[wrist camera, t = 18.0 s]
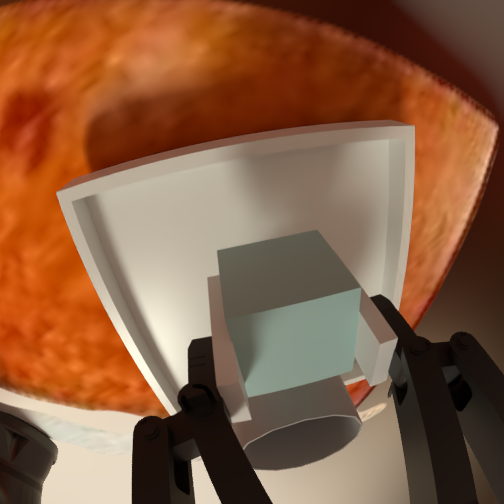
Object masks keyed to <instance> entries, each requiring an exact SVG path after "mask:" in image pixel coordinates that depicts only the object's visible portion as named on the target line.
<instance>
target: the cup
mask: <svg viewBox="0 0 504 504" xmlns="http://www.w3.org/2000/svg"><path fill="white" fill-rule="evenodd" d="M246 393H247V392H246ZM247 398H248V403H249V409H250V414H251V419H252V420H247V421H242V422H236V423H233V422H232V427H233V430H234V432H235V434H236V436H237V438H238V440H239V442H240V444H241V446H242V448H243V450H244V452H245V454H246V456H247V458H248V460H249V462H250V464H251V466H252V467H253V469H254V470H269V471H271V470H272V471H277V470H284V469H291V468H297V467H301V466H304V465H308V464H311V463H314V462H317V461H319V460H322V459H324V458H327V457H328V456H330V455H332V454H334V453H336V452H338V451H340V450H342V449H343V448H345V447H346V446H347V445H348V444H349V443H351V442H352V441H353V440H354V439H355V438H356V437H357V436H358V435H359V432H360V430H361V428H362V425H363V424H362V421H361V419H360V417H359V415H358V413H357V410H356V408H355V406H354V404H353V402H352V400H351V397H350V395H349V393H348V391H347V389H346V386H345V384H344V382H343V380H342V378H341V376H340V375H337V376H333V377H330V378H326V379H323V380H319V381H316V382H312V383H308V384H305V385H301V386H297V387H293V388H289V389H285V390H280V391H276V392H272V393H267V394H262V395H258V396H253V397H248V395H247ZM231 421H232V420H231Z"/></svg>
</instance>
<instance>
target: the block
mask: <svg viewBox="0 0 504 504" xmlns="http://www.w3.org/2000/svg"><path fill="white" fill-rule="evenodd" d="M217 257H218V266H219V275H220V284H221V293H222V301H223V309H224V317H225V322H226V326H227V329H228V332H229V336H230V339H231V342H233V345H234V349H235V352H236V356H237V359H238V363H239V366H240V369H241V373H242V376H243V379H244V383H245V388H246V392H247V395H248V397H253V396H258V395H262V394H267V393H272V392H276V391H280V390H285V389H289V388H293V387H297V386H301V385H305V384H308V383H312V382H316V381H319V380H323V379H326V378H330V377H333V376H337V375H340V374H343V373H346V372H349V371H353V364H354V353H355V345H356V337H357V328H358V318H359V310H360V298H361V286H360V285H359V283H358V282H357V281H356V279H355V278H354V277H353V275H352V274H351V273H350V271H349V270H348V269H347V267H346V266H345V265H344V263H343V262H342V261H341V260H340V258H339V257H338V256H337V254H336V253H335V252H334V250H333V249H332V248H331V247H330V245H329V244H328V243H327V241H326V240H325V239H324V238H323V236H322V235H321V234H320V233H319V231H318V230H313V231H308V232H303V233H298V234H293V235H288V236H283V237H279V238H274V239H269V240H264V241H259V242H254V243H250V244H245V245H240V246H235V247H230V248H226V249H221V250H217Z"/></svg>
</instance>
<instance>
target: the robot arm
mask: <svg viewBox="0 0 504 504" xmlns="http://www.w3.org/2000/svg"><path fill="white" fill-rule="evenodd" d="M334 252H335V251H334ZM335 253H336V252H335ZM337 256H338V255H337ZM338 257H339V256H338ZM339 258H340V257H339ZM340 260H341V259H340ZM341 261H342V260H341ZM342 262H343V261H342ZM344 265H345V264H344ZM345 266H346V265H345ZM347 269H348V268H347ZM348 270H349V269H348ZM350 273H351V272H350ZM351 274H352V273H351ZM353 277H354V276H353ZM354 278H355V277H354ZM207 281H208V295H209V308H210V321H211V333H212V336H209V337H203V338H198V339H192V341H191V343H190V345H189V347H188V384H186V385H184V386H183V387H182V388H181V389H180V391H179V393H178V396H177V401H178V404H179V405H180V407H181V409H182V410H181V411H179V412H178V413H176V414H174V415H172V416H169V417H167V418H165V419H161V418H159V417H157V416H148V417H144V418H143V419H141V420H140V421H138V423H137V424H136V425H135V428H134V432H133V451H132V504H195V497H194V487H193V478H192V467H191V460H192V459H194V458H196V457H199V456H201V457H202V460H203V462H204V465H205V467H206V470H207V472H208V474H209V477H210V479H211V481H212V484H213V486H214V488H215V490H216V493H217V495H218V497H219V499H220V501H221V503H222V504H273V503H272V502H271V500H270V498H269V496H268V495H267V493H266V491H265V489H264V488H263V486H262V484H261V482H260V480H259V479H258V477H257V475H256V473H255V471H254V469H253V467H252V466H251V464H250V462H249V460H248V458H247V456H246V454H245V452H244V450H243V448H242V446H241V444H240V442H239V440H238V438H237V436H236V434H235V432H234V430H233V428H232V422H233V423H236V422H242V421H247V420H252V419H251V414H250V409H249V403H248V398H247V393H246V388H245V383H244V379H243V376H242V373H241V369H240V366H239V363H238V359H237V356H236V352H235V349H234V345H233V342H231V339H230V336H229V332H228V329H227V326H226V322H225V317H224V309H223V301H222V293H221V284H220V275H216V276H211V277H207ZM356 281H357V280H356ZM357 282H358V281H357ZM359 285H360V284H359ZM360 286H361V285H360ZM354 356H355V358H356V360H357V362H358V364H359V366H360V368H361V370H362V372H363V374H364V376H365V377H366V379H367V381H368V383H369V385H370V387H371V386H374V385H376V384H379V383H382V382H384V381H386V379H387V376H388V373H389V375H390V376H391V378H392V383H391V386H390V389H389V392H388V398H389V397H391V394H393V399H394V403H395V408H396V413H397V418H398V423H399V428H400V434H401V440H402V445H403V451H404V457H405V464H406V471H407V478H408V486H409V494H410V504H479V503H478V500H477V496H476V489H475V484H474V480H473V474H472V470H471V465H470V461H469V456H468V452H467V448H466V444H465V440H464V437H463V434H464V436H465V438H466V440H467V442H468V444H469V445H470V447H471V449H472V451H473V453H474V455H475V457H476V458H477V460H478V462H479V464H480V466H481V468H482V470H483V472H484V474H485V476H486V478H487V480H488V482H489V484H490V486H491V488H492V490H493V492H494V494H495V496H496V499H497V501H498V503H499V504H504V375H503V373H502V372H501V371H500V369H499V368H498V367H497V365H496V364H495V363H494V361H493V360H492V359H491V358H490V356H489V355H488V354H487V352H486V351H485V350H484V349H483V347H482V346H481V345H480V344H479V342H478V341H477V340H476V339H475V338H474V337H473V336H472V335H471V334H469V333H467V332H457V333H455V334H453V335H452V337H451V339H450V341H449V342H439V343H431V342H430V341H429V340H427V339H426V338H424V337H420V336H417V335H416V334H415V333H414V331H413V330H412V328H411V327H410V326H409V324H408V323H407V322H406V320H405V319H404V318H403V317H402V315H401V314H400V313H399V311H398V310H397V309H396V308H395V306H394V305H393V304H392V302H391V301H390V300H389V299H388V298H386V297H384V296H383V295H381V294H379V295H375V296H372V297H369V296H368V295H367V293H366V292H365V291H364V289H363V288H362V287H361V298H360V310H359V318H358V328H357V337H356V345H355V353H354ZM231 420H232V422H231ZM57 454H58V448H57V446H56V445H55V444H54V443H53V442H52V441H51V440H50V439H49V438H48V437H47V436H45V435H44V434H43V433H41V432H40V431H38V430H37V429H35V428H33V427H32V426H30V425H28V424H27V423H25V422H23V421H21V420H19V419H17V418H15V417H12V416H10V415H8V414H5V413H2V412H0V504H41V495H42V487H43V483H44V481H45V479H46V477H47V475H48V473H49V471H50V469H51V466H52V465H54V464H55V462H56V460H57Z"/></svg>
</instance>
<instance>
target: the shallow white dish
mask: <svg viewBox="0 0 504 504" xmlns="http://www.w3.org/2000/svg"><path fill="white" fill-rule="evenodd" d="M414 171H415V126H414V125H410V124H406V123H402V122H398V121H394V120H373V121H356V122H343V123H331V124H321V125H311V126H303V127H294V128H287V129H279V130H272V131H266V132H259V133H253V134H247V135H241V136H236V137H230V138H225V139H220V140H215V141H210V142H205V143H200V144H196V145H191V146H187V147H182V148H178V149H174V150H170V151H166V152H162V153H158V154H154V155H150V156H146V157H142V158H139V159H135V160H132V161H128V162H125V163H121V164H118V165H115V166H111V167H108V168H105V169H102V170H98V171H95V172H92V173H89V174H86V175H83V176H80V177H77V178H74V179H72V180H71V181H70V182H68V183H67V184H66V185H65V186H63V187H62V188H61V189H60V190H59V191H57V192H56V194H57V197H58V200H59V203H60V206H61V209H62V211H63V214H64V217H65V220H66V222H67V225H68V227H69V230H70V233H71V235H72V238H73V240H74V242H75V245H76V247H77V250H78V252H79V254H80V257H81V259H82V261H83V264H84V266H85V268H86V270H87V272H88V275H89V277H90V279H91V281H92V283H93V285H94V287H95V289H96V291H97V294H98V296H99V298H100V300H101V302H102V304H103V305H104V307H105V309H106V311H107V313H108V315H109V317H110V319H111V321H112V323H113V324H114V326H115V328H116V330H117V332H118V334H119V335H120V337H121V339H122V341H123V342H124V344H125V346H126V348H127V349H128V351H129V353H130V354H131V356H132V358H133V359H134V361H135V363H136V364H137V366H138V367H139V369H140V371H141V372H142V374H143V375H144V377H145V379H146V380H147V382H148V383H149V385H150V386H151V388H152V389H153V391H154V392H155V394H156V395H157V397H158V398H159V400H160V401H161V403H162V404H163V405H164V407H165V408H166V410H167V411H168V412H169V414H170V415H171V416H172V415H174V414H176V413H178V412H179V411H181V410H182V409H181V407H180V405H179V404H178V401H177V396H178V393H179V391H180V389H181V388H182V387H183V386H184V385H186V384H188V347H189V345H190V343H191V341H192V339H198V338H203V337H209V336H212V333H211V321H210V308H209V295H208V281H207V277H211V276H216V275H219V266H218V257H217V250H221V249H226V248H230V247H235V246H240V245H245V244H250V243H254V242H259V241H264V240H269V239H274V238H279V237H283V236H288V235H293V234H298V233H303V232H308V231H313V230H318V231H319V233H320V234H321V235H322V236H323V238H324V239H325V240H326V241H327V243H328V244H329V245H330V247H331V248H332V249H333V250H334V251H335V252H336V254H337V255H338V256H339V257H340V259H341V260H342V261H343V263H344V264H345V265H346V267H347V268H348V269H349V271H350V272H351V273H352V275H353V276H354V277H355V279H356V280H357V281H358V283H359V284H360V285H361V287H362V288H363V289H364V291H365V292H366V293H367V295H368V296H369V297H372V296H375V295H379V294H381V295H383V296H384V297H386V298H388V299H389V300H390V301H391V302H392V304H393V305H394V306H395V308H396V309H397V310H398V311H399V306H400V300H401V295H402V289H403V283H404V277H405V271H406V264H407V256H408V249H409V240H410V231H411V221H412V208H413V193H414ZM340 376H341V378H342V380H343V382H344V384H345V385H348V384H351V383H354V382H357V381H360V380H363V379H366V377H365V376H364V374H363V372H362V370H361V368H360V366H359V364H358V362H357V360H356V358H355V356H354V364H353V371H349V372H346V373H343V374H340Z"/></svg>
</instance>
